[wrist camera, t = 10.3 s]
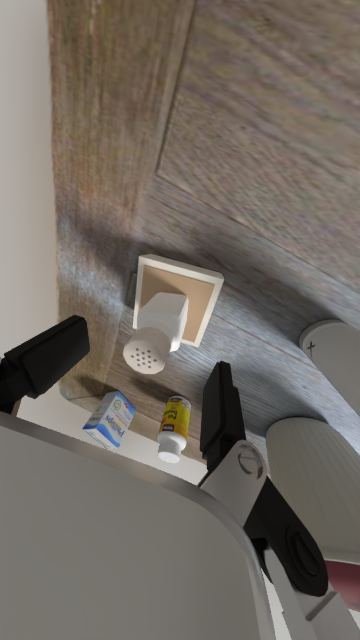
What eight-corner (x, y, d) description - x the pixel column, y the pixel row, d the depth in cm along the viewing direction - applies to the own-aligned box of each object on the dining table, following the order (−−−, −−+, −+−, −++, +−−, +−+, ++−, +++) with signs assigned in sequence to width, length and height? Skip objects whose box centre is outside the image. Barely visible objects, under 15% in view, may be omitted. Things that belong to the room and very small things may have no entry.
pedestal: (151, 253, 20) (138, 256, 17) (221, 273, 20) (224, 280, 16) (143, 315, 25) (132, 328, 21) (199, 332, 25) (198, 348, 21)
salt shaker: (189, 293, 18) (172, 339, 9) (186, 323, 19) (170, 383, 11) (157, 290, 18) (113, 330, 10) (157, 318, 20) (120, 373, 12)
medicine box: (136, 409, 39) (119, 449, 32) (124, 411, 41) (104, 449, 33) (119, 389, 36) (95, 428, 29) (106, 392, 38) (80, 429, 30)
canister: (319, 391, 26) (582, 746, 8) (368, 441, 30) (626, 764, 11) (235, 421, 34) (265, 629, 16) (281, 458, 38) (349, 661, 19)
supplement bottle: (181, 391, 33) (170, 447, 24) (195, 406, 34) (190, 464, 25) (162, 398, 35) (146, 451, 26) (176, 411, 36) (166, 466, 27)
